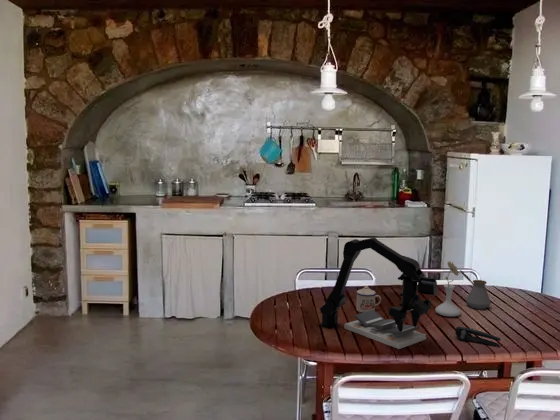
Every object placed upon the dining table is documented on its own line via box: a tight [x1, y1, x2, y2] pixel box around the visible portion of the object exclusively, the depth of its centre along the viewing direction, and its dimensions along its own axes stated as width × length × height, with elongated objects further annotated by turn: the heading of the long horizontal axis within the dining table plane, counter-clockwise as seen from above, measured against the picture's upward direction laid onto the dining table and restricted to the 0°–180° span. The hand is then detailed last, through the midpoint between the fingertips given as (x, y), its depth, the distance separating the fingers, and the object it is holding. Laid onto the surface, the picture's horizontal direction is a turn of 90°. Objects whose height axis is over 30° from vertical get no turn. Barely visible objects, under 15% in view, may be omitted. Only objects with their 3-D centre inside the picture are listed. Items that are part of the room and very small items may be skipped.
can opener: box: [454, 326, 502, 347], centre depth 219 cm, size 18×7×6 cm, turn 58°
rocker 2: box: [370, 318, 396, 328], centre depth 227 cm, size 12×7×1 cm, turn 130°
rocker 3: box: [387, 324, 420, 335], centre depth 220 cm, size 12×7×1 cm, turn 130°
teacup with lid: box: [355, 285, 382, 313], centre depth 257 cm, size 12×9×12 cm
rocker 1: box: [353, 310, 386, 327], centre depth 234 cm, size 12×7×1 cm, turn 130°
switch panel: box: [343, 319, 427, 350], centre depth 227 cm, size 18×29×3 cm, turn 40°
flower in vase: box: [435, 260, 462, 317], centre depth 253 cm, size 13×11×25 cm
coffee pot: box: [458, 269, 492, 310], centre depth 270 cm, size 21×12×15 cm, turn 19°
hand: (407, 329), depth 218 cm, fingers open, 9 cm apart
